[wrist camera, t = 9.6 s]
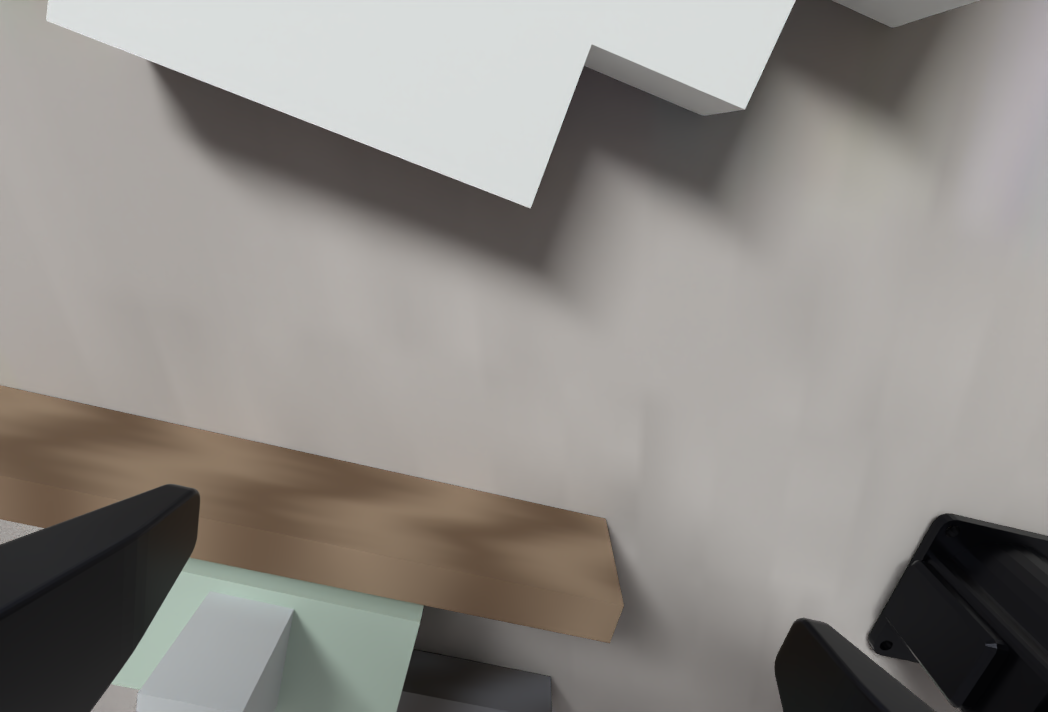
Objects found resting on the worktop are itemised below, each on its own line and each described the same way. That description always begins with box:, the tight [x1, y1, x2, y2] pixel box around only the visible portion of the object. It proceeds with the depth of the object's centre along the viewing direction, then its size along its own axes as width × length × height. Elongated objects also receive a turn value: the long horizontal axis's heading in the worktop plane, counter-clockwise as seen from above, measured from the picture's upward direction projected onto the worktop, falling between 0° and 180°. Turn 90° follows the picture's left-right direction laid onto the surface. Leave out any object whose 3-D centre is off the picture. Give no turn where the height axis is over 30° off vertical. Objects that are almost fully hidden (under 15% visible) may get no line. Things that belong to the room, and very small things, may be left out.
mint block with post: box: [111, 558, 424, 712], centre depth 19 cm, size 10×5×8 cm, turn 75°
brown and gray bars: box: [0, 386, 624, 712], centre depth 21 cm, size 22×10×4 cm, turn 76°
